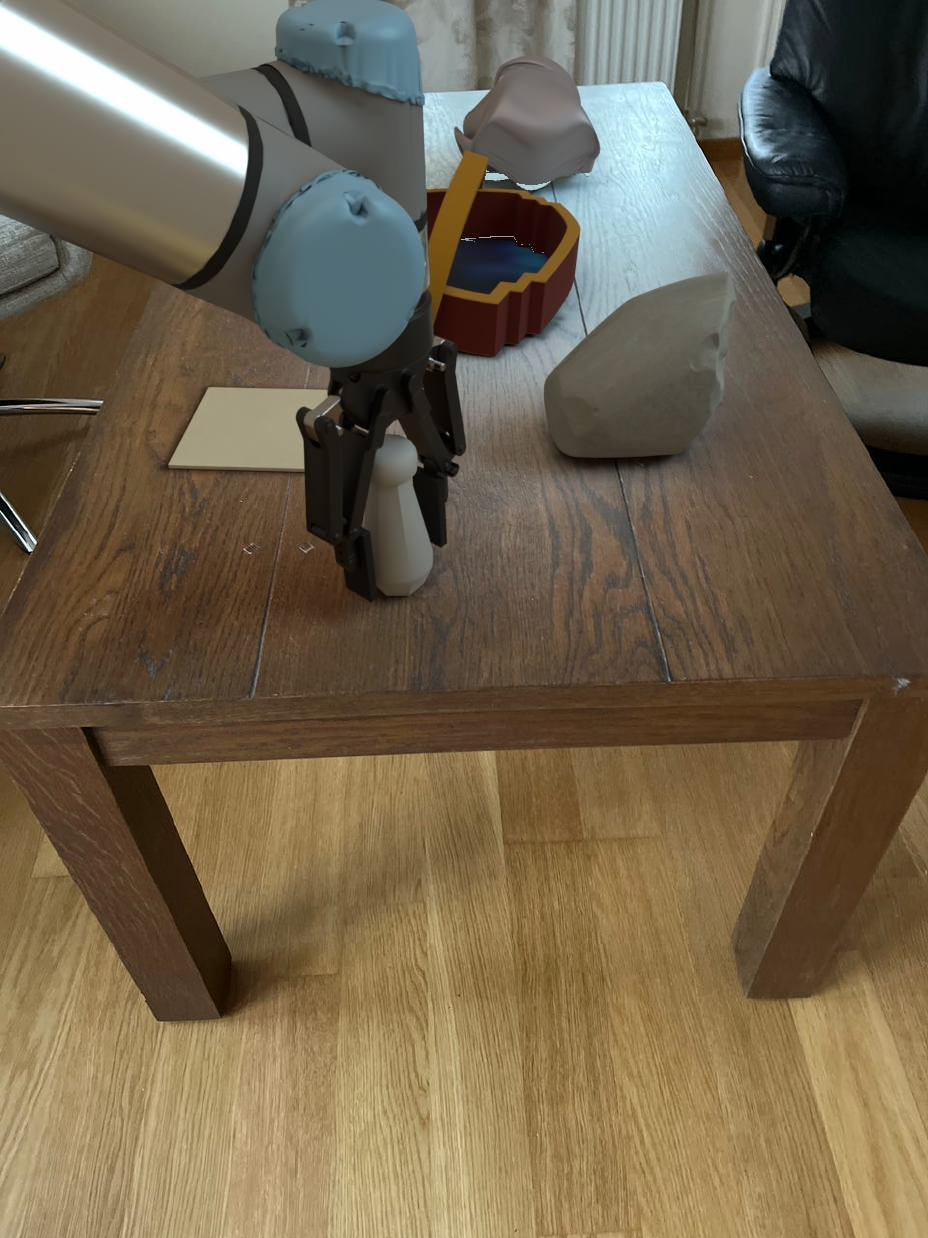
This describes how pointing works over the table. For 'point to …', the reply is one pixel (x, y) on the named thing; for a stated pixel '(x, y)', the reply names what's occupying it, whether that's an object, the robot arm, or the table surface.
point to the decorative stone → (644, 373)
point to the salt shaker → (397, 520)
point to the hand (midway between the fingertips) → (397, 564)
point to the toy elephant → (531, 124)
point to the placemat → (246, 430)
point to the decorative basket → (496, 260)
